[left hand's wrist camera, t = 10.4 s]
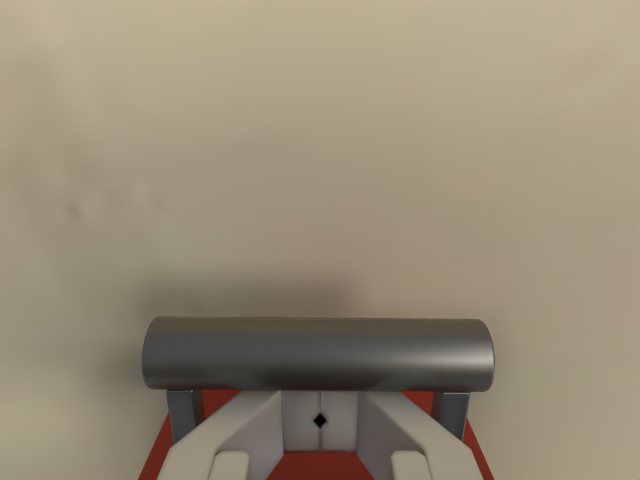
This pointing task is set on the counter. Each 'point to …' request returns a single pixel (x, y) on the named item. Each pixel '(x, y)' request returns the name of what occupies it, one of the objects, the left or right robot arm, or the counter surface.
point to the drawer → (315, 373)
